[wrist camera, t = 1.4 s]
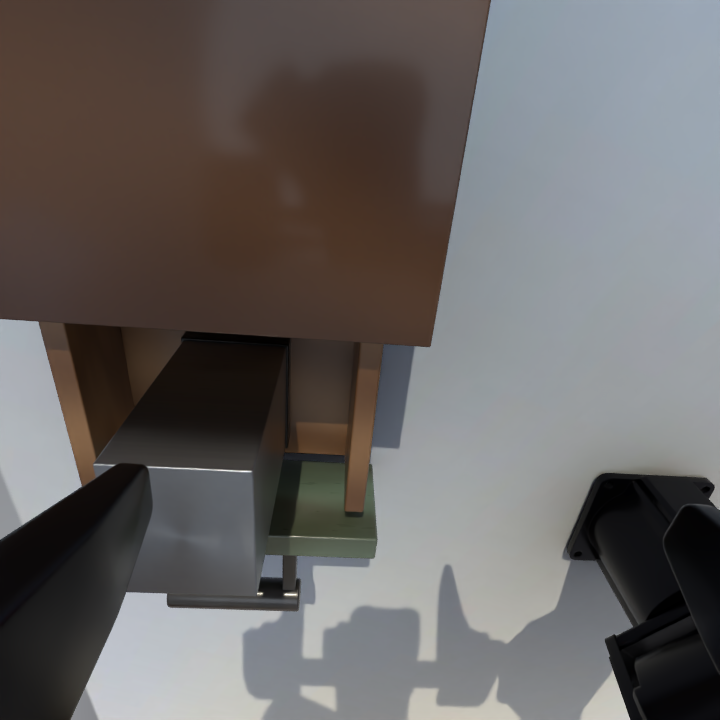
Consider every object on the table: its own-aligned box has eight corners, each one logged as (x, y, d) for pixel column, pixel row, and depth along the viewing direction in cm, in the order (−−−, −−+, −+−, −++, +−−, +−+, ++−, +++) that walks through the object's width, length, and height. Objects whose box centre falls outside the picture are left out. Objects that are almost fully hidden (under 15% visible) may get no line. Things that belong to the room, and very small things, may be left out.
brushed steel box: (289, 437, 21) (260, 599, 14) (197, 432, 21) (120, 594, 14) (291, 336, 19) (256, 468, 12) (186, 329, 18) (86, 460, 11)
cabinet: (406, 279, 20) (430, 347, 14) (81, 255, 19) (-37, 317, 13) (480, -271, 12) (598, -609, 7) (-41, -348, 12) (-429, -812, 6)
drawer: (362, 538, 26) (365, 620, 22) (138, 529, 25) (96, 613, 21) (406, 188, 17) (425, 212, 13) (64, 159, 16) (-34, 173, 12)
